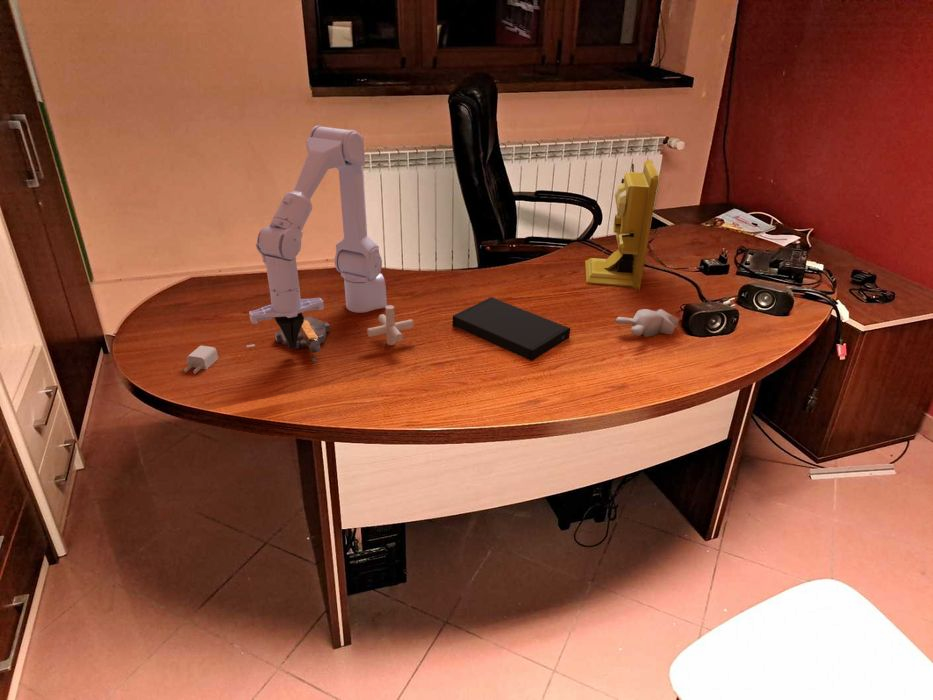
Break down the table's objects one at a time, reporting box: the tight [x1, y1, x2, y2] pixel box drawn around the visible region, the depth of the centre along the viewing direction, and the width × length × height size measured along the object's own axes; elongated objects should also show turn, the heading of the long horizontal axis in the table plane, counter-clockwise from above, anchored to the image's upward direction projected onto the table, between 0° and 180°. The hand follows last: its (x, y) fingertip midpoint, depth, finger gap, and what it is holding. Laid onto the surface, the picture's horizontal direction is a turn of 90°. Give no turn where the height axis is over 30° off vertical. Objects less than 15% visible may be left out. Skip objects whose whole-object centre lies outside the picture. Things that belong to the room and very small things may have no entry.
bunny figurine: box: [614, 308, 680, 337], centre depth 150 cm, size 10×5×15 cm
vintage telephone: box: [584, 158, 659, 291], centre depth 173 cm, size 31×14×30 cm, turn 172°
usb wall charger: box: [183, 345, 219, 375], centre depth 131 cm, size 4×7×4 cm, turn 167°
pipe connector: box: [366, 304, 415, 346], centre depth 139 cm, size 10×10×10 cm
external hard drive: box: [452, 296, 571, 362], centre depth 149 cm, size 14×23×3 cm, turn 48°
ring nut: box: [274, 316, 331, 354], centre depth 139 cm, size 17×12×4 cm
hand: (291, 346), depth 134 cm, fingers closed
